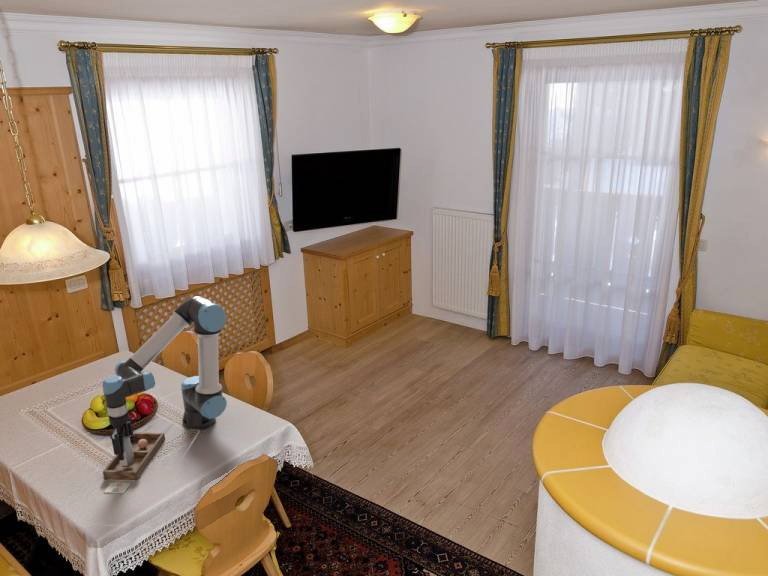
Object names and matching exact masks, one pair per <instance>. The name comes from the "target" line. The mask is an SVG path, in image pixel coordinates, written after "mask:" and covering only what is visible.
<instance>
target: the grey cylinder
mask: <svg viewBox="0 0 768 576" xmlns="http://www.w3.org/2000/svg"><path fill="white" fill-rule="evenodd" d="M123 442H124V451H125V453H126V458H127V463H128V465H127V466H122V467H129V466H131V465H133V464H134V458H133V453H132V447H131V442H130V437H129V436H124V437H123Z"/></svg>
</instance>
